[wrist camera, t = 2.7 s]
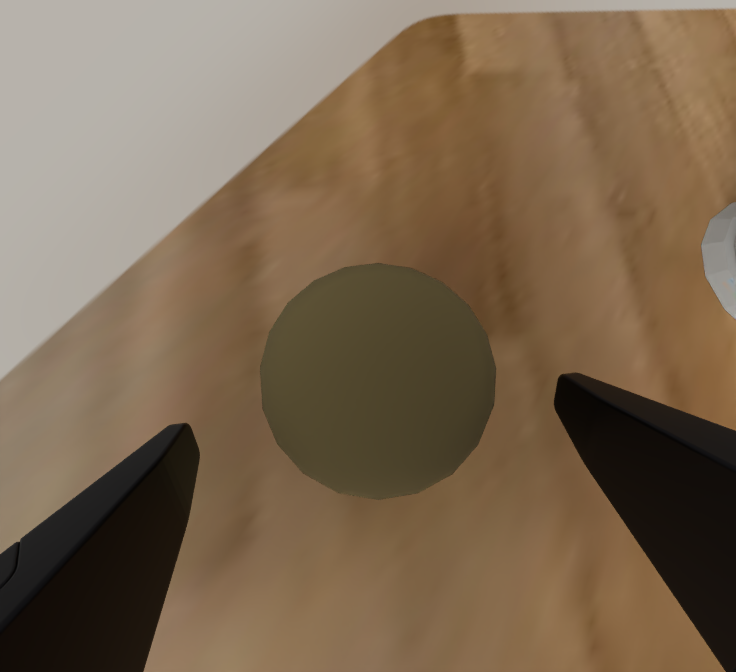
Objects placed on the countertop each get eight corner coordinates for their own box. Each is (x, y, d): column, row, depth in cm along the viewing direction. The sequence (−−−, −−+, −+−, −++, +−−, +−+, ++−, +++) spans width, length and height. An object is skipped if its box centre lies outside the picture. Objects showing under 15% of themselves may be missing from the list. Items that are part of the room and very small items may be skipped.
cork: (383, 524, 16) (427, 622, 6) (273, 436, 17) (146, 388, 7) (459, 408, 18) (598, 324, 8) (355, 334, 19) (349, 171, 9)
